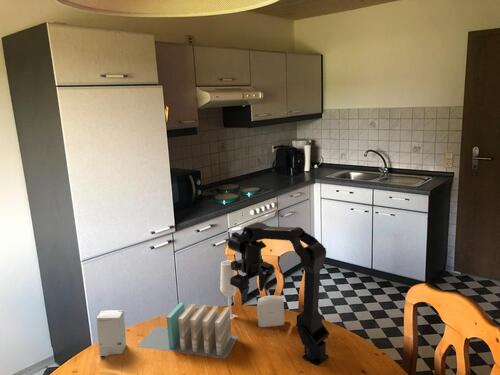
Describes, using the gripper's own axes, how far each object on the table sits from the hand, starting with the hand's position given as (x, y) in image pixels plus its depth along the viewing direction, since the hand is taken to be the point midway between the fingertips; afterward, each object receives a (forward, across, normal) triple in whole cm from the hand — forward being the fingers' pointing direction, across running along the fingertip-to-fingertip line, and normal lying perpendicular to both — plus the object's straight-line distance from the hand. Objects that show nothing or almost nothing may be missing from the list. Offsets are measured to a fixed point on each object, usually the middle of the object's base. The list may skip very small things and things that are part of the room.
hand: (252, 295), depth 154 cm
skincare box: (+17, +42, -29) cm, 53 cm away
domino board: (+15, +22, -12) cm, 29 cm away
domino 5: (+13, +15, 0) cm, 20 cm away
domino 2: (+14, +21, -12) cm, 28 cm away
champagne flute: (+16, -1, -12) cm, 20 cm away
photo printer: (+14, -6, +4) cm, 16 cm away
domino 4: (+14, +17, -4) cm, 22 cm away
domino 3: (+14, +19, -8) cm, 25 cm away
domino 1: (+14, +23, -16) cm, 32 cm away
